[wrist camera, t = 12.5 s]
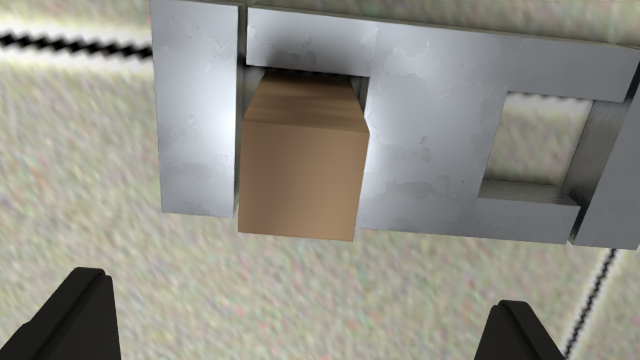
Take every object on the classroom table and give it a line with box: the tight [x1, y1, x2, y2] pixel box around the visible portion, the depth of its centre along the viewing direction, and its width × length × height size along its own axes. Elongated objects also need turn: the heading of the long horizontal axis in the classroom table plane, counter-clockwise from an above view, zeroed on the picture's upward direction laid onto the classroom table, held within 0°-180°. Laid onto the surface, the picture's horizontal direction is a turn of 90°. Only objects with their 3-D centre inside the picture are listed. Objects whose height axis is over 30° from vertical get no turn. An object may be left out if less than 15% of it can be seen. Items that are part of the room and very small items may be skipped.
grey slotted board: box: [150, 0, 640, 250], centre depth 26 cm, size 30×12×3 cm, turn 84°
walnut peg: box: [238, 70, 370, 242], centre depth 22 cm, size 5×5×10 cm
